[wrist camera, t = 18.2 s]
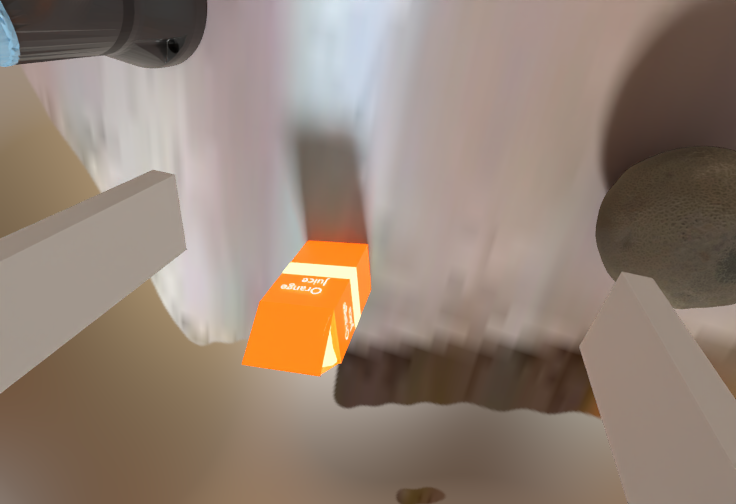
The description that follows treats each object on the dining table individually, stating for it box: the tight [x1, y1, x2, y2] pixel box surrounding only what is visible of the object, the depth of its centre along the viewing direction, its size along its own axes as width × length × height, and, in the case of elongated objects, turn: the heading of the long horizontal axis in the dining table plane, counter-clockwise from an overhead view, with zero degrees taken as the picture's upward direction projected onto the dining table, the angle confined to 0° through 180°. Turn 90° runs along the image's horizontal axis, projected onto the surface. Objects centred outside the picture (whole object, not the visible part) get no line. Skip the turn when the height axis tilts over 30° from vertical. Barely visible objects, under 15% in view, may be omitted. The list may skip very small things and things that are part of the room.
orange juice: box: [242, 241, 371, 376], centre depth 47 cm, size 8×9×20 cm
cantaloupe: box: [596, 146, 736, 309], centre depth 35 cm, size 14×14×15 cm
